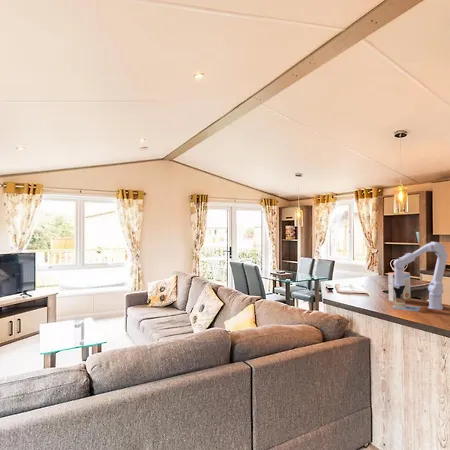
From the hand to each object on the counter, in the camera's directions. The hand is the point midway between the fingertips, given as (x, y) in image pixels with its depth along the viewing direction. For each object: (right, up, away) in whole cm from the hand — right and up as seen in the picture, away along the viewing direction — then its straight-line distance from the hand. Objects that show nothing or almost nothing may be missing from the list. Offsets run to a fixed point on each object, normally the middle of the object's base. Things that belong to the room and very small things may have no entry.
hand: (399, 297), depth 226 cm
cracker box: (+8, -7, +16) cm, 20 cm away
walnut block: (0, -3, 0) cm, 3 cm away
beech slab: (0, -6, 0) cm, 6 cm away
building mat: (+3, -7, -3) cm, 8 cm away
